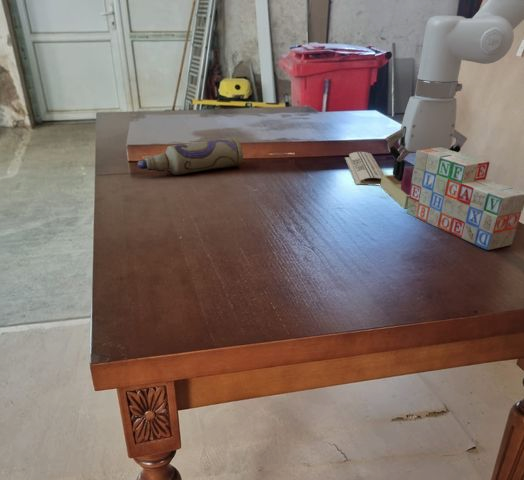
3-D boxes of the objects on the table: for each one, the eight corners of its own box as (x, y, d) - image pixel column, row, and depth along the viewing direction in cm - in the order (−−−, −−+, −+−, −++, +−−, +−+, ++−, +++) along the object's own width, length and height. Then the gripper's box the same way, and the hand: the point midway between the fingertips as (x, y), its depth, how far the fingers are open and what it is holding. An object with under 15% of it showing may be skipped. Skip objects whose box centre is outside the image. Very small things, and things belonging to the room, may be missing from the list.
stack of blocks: (512, 245, 92) (534, 174, 85) (487, 251, 90) (507, 179, 83) (429, 208, 108) (441, 145, 101) (405, 212, 105) (416, 148, 98)
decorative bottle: (230, 161, 135) (230, 134, 131) (244, 169, 130) (244, 141, 126) (133, 174, 124) (129, 144, 121) (143, 182, 119) (140, 152, 115)
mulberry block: (421, 189, 116) (426, 166, 114) (431, 196, 112) (435, 172, 110) (400, 190, 116) (404, 166, 113) (408, 197, 112) (413, 173, 109)
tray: (426, 185, 121) (428, 173, 120) (455, 206, 109) (458, 194, 108) (379, 186, 119) (381, 175, 118) (404, 208, 108) (406, 195, 106)
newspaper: (386, 185, 120) (387, 177, 119) (355, 184, 120) (356, 176, 119) (371, 158, 140) (372, 151, 139) (344, 158, 140) (345, 151, 139)
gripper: (467, 87, 107) (449, 172, 116) (386, 87, 104) (374, 174, 114) (485, 93, 101) (465, 182, 110) (400, 93, 98) (386, 185, 108)
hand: (419, 178), depth 112 cm, fingers open, 9 cm apart
